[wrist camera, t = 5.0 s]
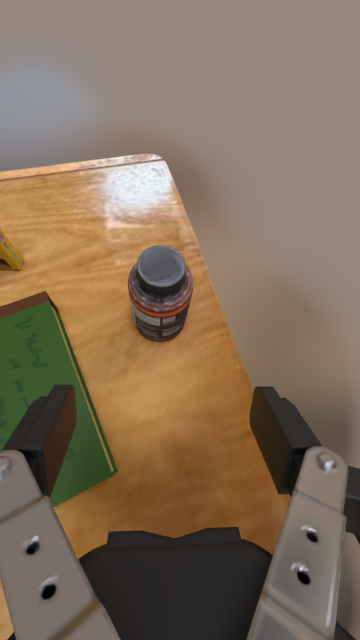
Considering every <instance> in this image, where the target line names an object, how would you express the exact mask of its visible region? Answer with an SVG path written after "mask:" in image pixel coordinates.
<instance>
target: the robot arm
mask: <svg viewBox="0 0 360 640" xmlns="http://www.w3.org/2000/svg"><path fill="white" fill-rule="evenodd" d="M76 422H77V408H76V396H75V387H74V385H68V384H55V385H54V386H53V388H52V390H51V392H50V394H49V395H48V396H41V397H39V398H38V399H37V400H35V401H34V402H33V403H32V404H30V406H29V408H28V409H27V411H26V412H25V415H24V416H23V417H22V419H21V420H20V423H19V424H18V425H17V427H16V428H15V430H14V432H13V433H12V435H11V436H10V438H9V440H8V441H7V443H6V444H5V446H4V448H3V449H2V451H1V452H0V579H1V583H2V587H3V591H4V594H5V598H6V602H7V606H8V610H9V614H10V617H11V621H12V625H13V629H14V633H13V634H12V635H11V636H10V637H9V639H8V640H356V639H355V638H354V637H353V636H352V635H351V634H350V633H349V632H348V631H347V630H346V629H345V628H344V627H343V626H342V625H341V624H340V623H339V622H338V621H337V620H336V613H337V604H338V594H339V585H340V575H341V566H342V557H343V548H344V547H343V546H344V539H345V531H346V532H349V533H353V534H354V535H355V536H356V538H357V540H358V542H359V544H360V469H358V468H354V467H351V466H347V464H346V462H345V461H344V460H343V458H342V457H340V456H339V455H338V454H337V453H335V452H334V451H331V450H330V449H327V448H324V447H322V445H321V444H320V442H319V441H318V439H317V438H316V436H315V435H314V433H313V432H312V431H311V429H310V428H309V426H308V425H307V423H305V420H304V419H303V417H302V416H300V413H299V412H298V410H297V408H296V407H295V405H293V404H292V403H291V402H289V401H288V400H287V399H286V398H280V397H279V395H278V393H277V392H276V390H275V389H274V387H255V389H254V394H253V399H252V405H251V410H250V426H251V429H252V432H253V434H254V436H255V439H256V441H257V443H258V446H259V448H260V451H261V453H262V455H263V458H264V460H265V463H266V465H267V467H268V470H269V472H270V474H271V477H272V479H273V482H274V484H275V486H276V489H277V491H278V494H290V496H291V500H290V503H289V507H288V510H287V513H286V516H285V519H284V523H283V526H282V529H281V532H280V535H279V538H278V542H277V545H276V548H275V551H274V554H273V555H271V554H270V553H269V552H268V551H266V550H265V549H263V548H262V547H260V546H258V545H256V544H254V543H252V542H250V541H247V540H244V539H241V536H240V532H239V528H238V527H224V528H206V529H203V530H200V531H197V532H194V533H191V534H188V535H185V536H182V537H179V538H170V537H166V536H162V535H158V534H154V533H150V532H146V531H115V532H109V534H108V541H107V544H105V545H102V546H100V547H98V548H95V549H93V550H92V551H90V552H88V553H87V554H85V555H84V556H82V557H81V558H80V559H78V558H77V556H76V554H75V552H74V550H73V548H72V546H71V544H70V542H69V539H68V537H67V535H66V533H65V531H64V529H63V527H62V525H61V523H60V521H59V519H58V517H57V515H56V513H55V510H54V508H53V506H52V504H51V502H50V500H49V499H50V497H51V494H52V491H53V488H54V486H55V483H56V480H57V477H58V475H59V472H60V469H61V466H62V464H63V461H64V458H65V455H66V452H67V450H68V447H69V444H70V441H71V439H72V436H73V433H74V430H75V427H76Z"/></svg>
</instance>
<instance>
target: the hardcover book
mask: <svg viewBox="0 0 360 640" xmlns="http://www.w3.org/2000/svg"><path fill="white" fill-rule="evenodd" d="M55 384H68V385H74V387H75V396H76V408H77V422H76V427H75V430H74V433H73V436H72V439H71V441H70V444H69V447H68V450H67V452H66V455H65V458H64V461H63V464H62V466H61V469H60V472H59V475H58V477H57V480H56V483H55V486H54V488H53V491H52V494H51V497H50V499H49V500H50V502H51V504H52V506H53V507H55V506H56V505H58V504H60V503H62V502H64V501H66V500H68V499H69V498H71V497H73V496H75V495H77V494H79V493H81V492H83V491H84V490H86V489H88V488H90V487H92V486H94V485H96V484H98V483H99V482H101V481H103V480H105V479H107V478H109V477H111V476H113V474H114V473H116V472H118V471H117V469H116V466H115V463H114V461H113V458H112V455H111V453H110V450H109V447H108V445H107V442H106V439H105V436H104V434H103V431H102V428H101V426H100V423H99V420H98V418H97V415H96V412H95V409H94V407H93V404H92V401H91V399H90V396H89V393H88V391H87V388H86V385H85V383H84V380H83V377H82V374H81V372H80V369H79V366H78V364H77V361H76V358H75V356H74V353H73V350H72V347H71V345H70V342H69V339H68V337H67V334H66V331H65V329H64V326H63V323H62V320H61V318H60V315H59V312H58V310H57V307H56V306H55V304H54V303H53V301H52V300H51V298H50V297H49V296H48V294H47V293H46V291H44V292H41V293H39V294H36V295H33V296H30V297H27V298H24V299H21V300H19V301H16V302H13V303H10V304H7V305H4V306H1V307H0V452H1V451H2V449H3V448H4V446H5V444H6V443H7V441H8V440H9V438H10V436H11V435H12V433H13V432H14V430H15V428H16V427H17V425H18V424H19V423H20V420H21V419H22V417H23V416H24V415H25V412H26V411H27V409H28V408H29V406H30V404H32V403H33V402H34V401H35V400H37V399H38V398H39V397H41V396H48V395H49V394H50V392H51V390H52V388H53V386H54V385H55Z"/></svg>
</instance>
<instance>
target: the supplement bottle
mask: <svg viewBox="0 0 360 640" xmlns="http://www.w3.org/2000/svg"><path fill="white" fill-rule="evenodd" d="M128 289H129V296H130V302H131V307H132V308H131V309H132V312H133V318H134V322H135V325H136V327H137V329H138V331H139V332H140V333H141V334H142V335H143V336H145V337H146V338H148V339H150V340H153V341H166V340H169V339H172V338H174V337H175V336H176V335H178V334H179V333H180V331H181V330H182V328H183V326H184V323H185V320H186V316H187V312H188V308H189V304H190V300H191V296H192V292H193V278H192V275H191V272H190V271H189V269H188V267H187V266H186V264H185V260H184V258H183V256H182V255H181V254H180V253H179V252H178V251H177V250H175V249H174V248H171V247H169V246H165V245H157V246H153V247H150V248H148V249H146V250H145V251H144V252H143V253H142V254H141V255H140V257H139V259H138V262H137V264H136V265H135V266H134V267H133V268H132V270H131V272H130V274H129V279H128Z"/></svg>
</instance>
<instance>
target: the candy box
mask: <svg viewBox="0 0 360 640" xmlns="http://www.w3.org/2000/svg"><path fill="white" fill-rule="evenodd" d="M22 263H23V258H22V257H21V256H20V254H19V253H18V252H17V250H16V249H15V248H14V246H13V245H12V244H11V242H10V241H9V240H8V238H7V237H6V236H5V235H4V233H3V232H2V230H1V229H0V269H9V270H21V267H22Z"/></svg>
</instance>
